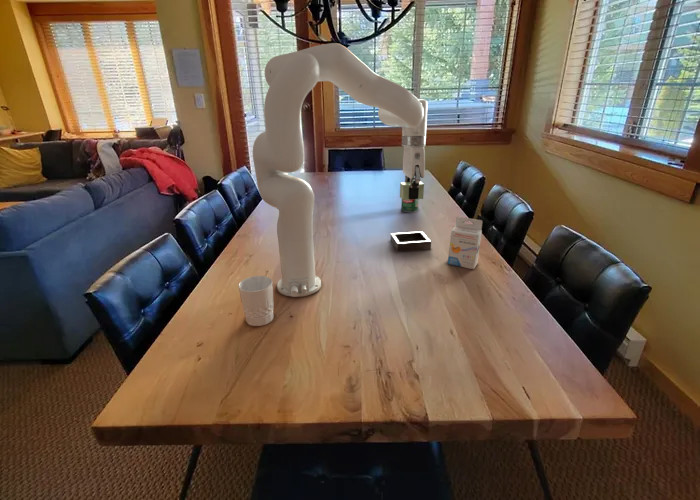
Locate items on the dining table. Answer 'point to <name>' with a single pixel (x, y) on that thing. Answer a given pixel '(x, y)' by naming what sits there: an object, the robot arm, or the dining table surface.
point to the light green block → (405, 190)
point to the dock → (410, 241)
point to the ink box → (465, 243)
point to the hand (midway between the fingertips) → (411, 196)
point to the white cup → (257, 300)
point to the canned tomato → (410, 205)
